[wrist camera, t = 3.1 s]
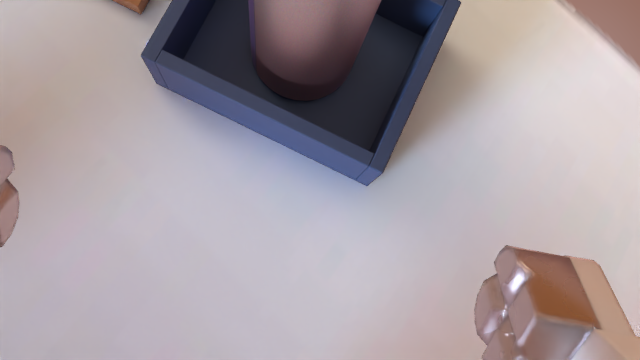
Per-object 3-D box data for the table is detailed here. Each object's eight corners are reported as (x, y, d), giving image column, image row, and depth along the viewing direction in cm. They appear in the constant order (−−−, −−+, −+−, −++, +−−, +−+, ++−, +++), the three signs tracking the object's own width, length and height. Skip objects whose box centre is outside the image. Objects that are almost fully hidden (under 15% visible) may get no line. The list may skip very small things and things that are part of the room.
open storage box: (155, 83, 33) (140, 55, 28) (239, -65, 35) (236, -112, 30) (367, 186, 33) (382, 173, 29) (437, 33, 35) (462, 1, 31)
